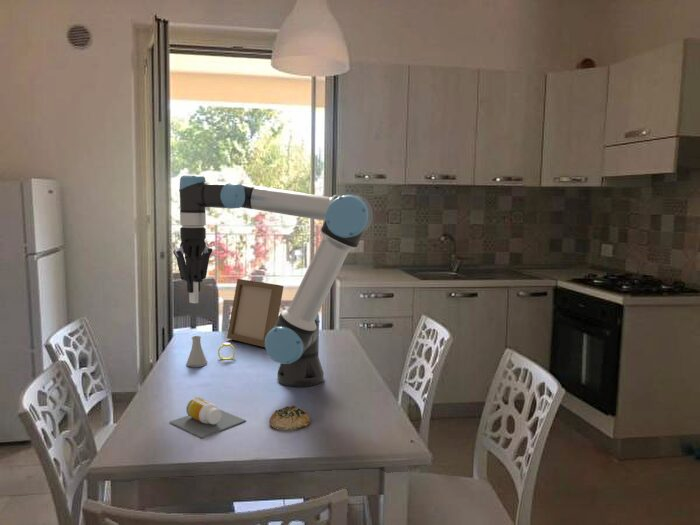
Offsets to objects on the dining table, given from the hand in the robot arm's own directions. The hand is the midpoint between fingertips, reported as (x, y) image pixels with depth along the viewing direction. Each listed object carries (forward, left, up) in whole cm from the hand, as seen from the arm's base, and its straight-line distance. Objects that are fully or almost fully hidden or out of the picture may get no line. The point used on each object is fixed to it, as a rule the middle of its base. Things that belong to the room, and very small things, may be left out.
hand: (193, 302), depth 175 cm
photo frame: (+2, -54, -27) cm, 60 cm away
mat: (-18, +25, -26) cm, 41 cm away
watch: (+3, -28, -27) cm, 39 cm away
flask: (+10, -19, -27) cm, 34 cm away
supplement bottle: (-13, +23, -23) cm, 35 cm away
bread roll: (-39, +19, -27) cm, 51 cm away
